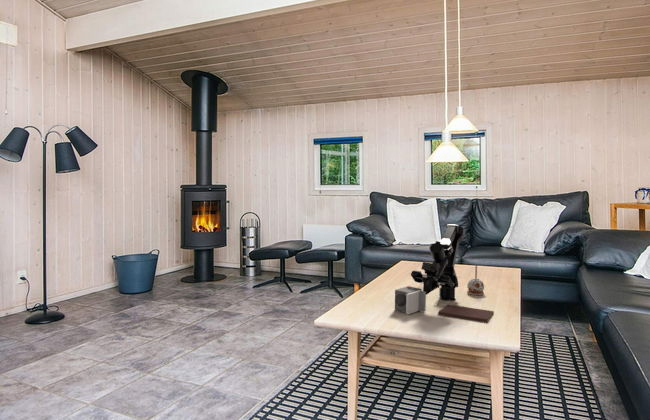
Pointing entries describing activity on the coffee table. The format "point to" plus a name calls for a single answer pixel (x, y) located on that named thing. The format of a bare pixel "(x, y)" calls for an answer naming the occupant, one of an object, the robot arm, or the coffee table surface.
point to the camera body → (403, 297)
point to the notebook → (466, 313)
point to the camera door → (415, 302)
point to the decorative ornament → (475, 285)
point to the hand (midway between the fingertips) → (423, 294)
